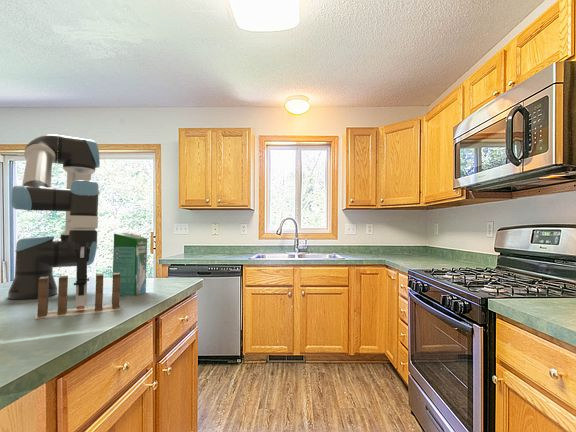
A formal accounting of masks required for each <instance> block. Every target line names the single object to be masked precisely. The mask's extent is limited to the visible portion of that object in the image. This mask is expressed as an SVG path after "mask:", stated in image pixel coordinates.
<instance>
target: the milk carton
mask: <svg viewBox="0 0 576 432" xmlns="http://www.w3.org/2000/svg"><path fill="white" fill-rule="evenodd" d="M147 248H148V238H147V237H143V236H142V234H140V233H137V232H136V233H135V232H130V233H128V232H115V233H113V252H112V253H113V256H112V257H113V258H112V259H113V260H112V261H113V262H112V274H113V273H120V297H121V296H123V297H124V296H127V297H128V296H130V297H131V296H132V297H133V296H134V297H136V296H138V295H140V294H146V292H147V265H148V263H147V258H148V257H147V255H148V249H147Z"/></svg>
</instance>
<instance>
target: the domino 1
mask: <svg viewBox="0 0 576 432" xmlns="http://www.w3.org/2000/svg"><path fill="white" fill-rule="evenodd" d="M48 292H49V277H40V278H39V284H38V298H37V314H36V316H37V317H43V316H46V315H47V313H48V311H49V296H48Z"/></svg>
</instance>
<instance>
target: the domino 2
mask: <svg viewBox="0 0 576 432" xmlns="http://www.w3.org/2000/svg"><path fill="white" fill-rule="evenodd" d="M68 280H69V275H60V276H59V277H58V286H57V310H58V315H62V314H66V312H67V309H68V288H69V287H68V284H69V283H68V282H69V281H68Z"/></svg>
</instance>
